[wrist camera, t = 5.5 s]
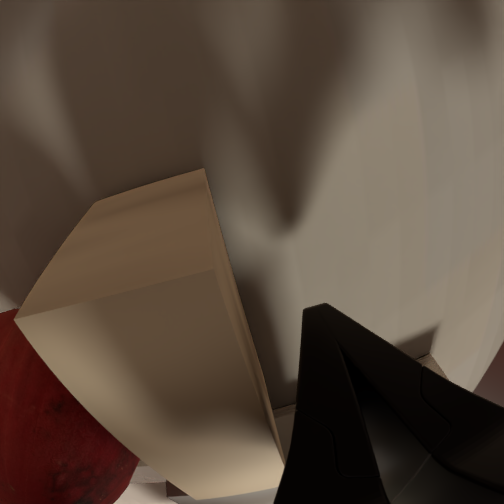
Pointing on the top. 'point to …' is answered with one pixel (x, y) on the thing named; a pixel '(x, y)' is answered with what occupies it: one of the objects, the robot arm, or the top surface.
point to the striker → (162, 342)
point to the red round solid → (51, 435)
